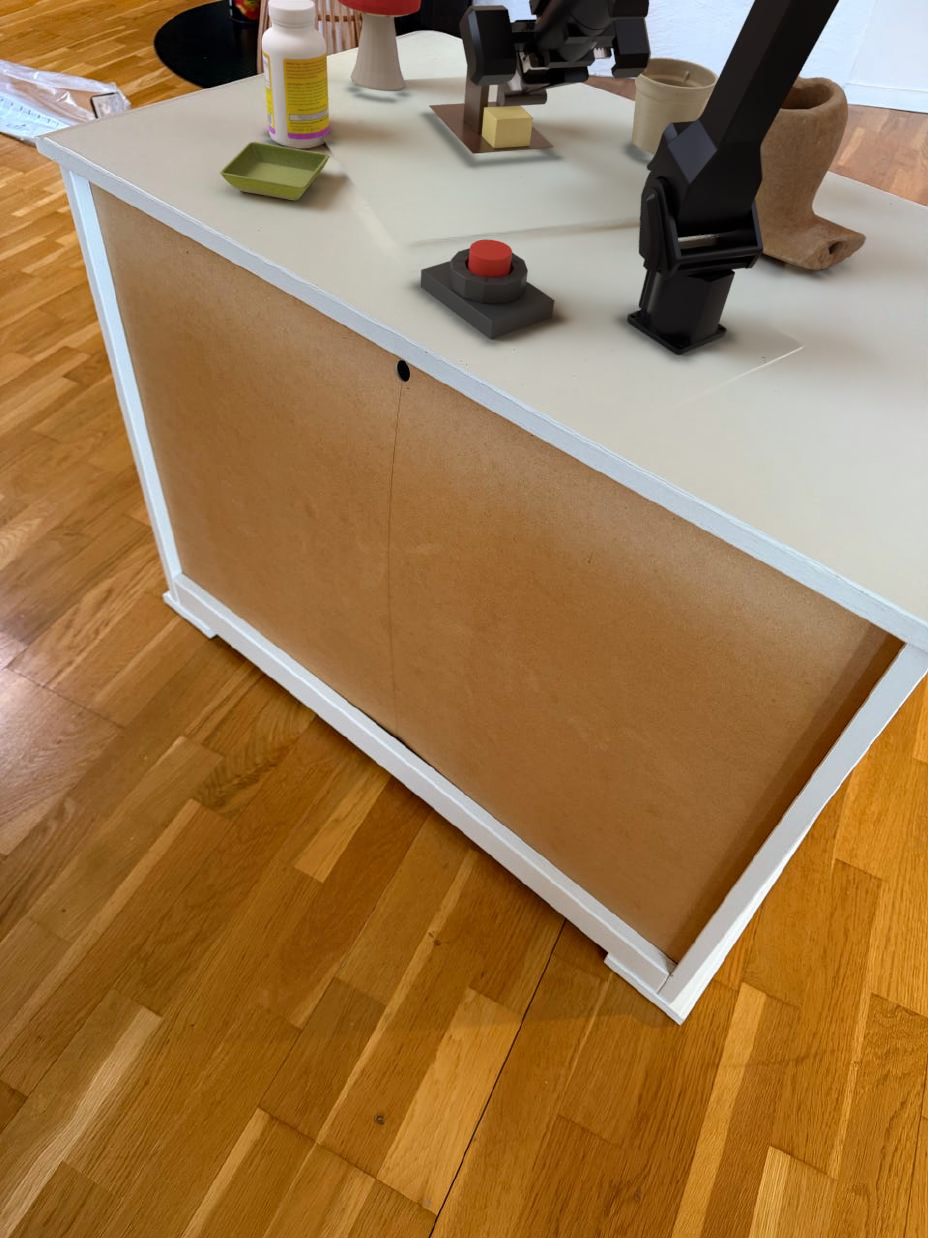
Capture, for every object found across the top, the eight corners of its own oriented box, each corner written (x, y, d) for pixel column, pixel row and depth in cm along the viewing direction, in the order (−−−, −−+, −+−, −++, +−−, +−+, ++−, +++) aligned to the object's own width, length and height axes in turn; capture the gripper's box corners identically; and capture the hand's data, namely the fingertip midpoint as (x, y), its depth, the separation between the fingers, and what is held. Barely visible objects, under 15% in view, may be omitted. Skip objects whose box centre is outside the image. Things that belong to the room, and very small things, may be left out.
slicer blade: (544, 111, 96) (550, 89, 93) (501, 113, 94) (506, 92, 92) (511, 50, 99) (516, 28, 97) (469, 51, 98) (474, 29, 96)
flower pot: (713, 163, 104) (736, 80, 97) (654, 176, 100) (674, 92, 93) (659, 133, 109) (678, 52, 102) (601, 145, 105) (616, 62, 98)
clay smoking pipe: (671, 234, 91) (714, 70, 79) (735, 204, 97) (783, 47, 85) (800, 296, 84) (866, 126, 73) (859, 260, 90) (929, 98, 79)
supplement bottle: (341, 138, 100) (339, 3, 90) (304, 155, 96) (297, 17, 86) (295, 121, 102) (287, -12, 92) (256, 138, 98) (244, 0, 88)
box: (551, 317, 78) (558, 280, 75) (490, 340, 75) (494, 301, 72) (480, 268, 83) (484, 231, 80) (420, 287, 80) (422, 249, 77)
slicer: (553, 157, 101) (569, 49, 93) (471, 164, 98) (481, 53, 90) (504, 110, 109) (515, 7, 101) (428, 115, 106) (432, 10, 98)
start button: (518, 272, 76) (520, 253, 75) (485, 283, 75) (487, 263, 73) (491, 255, 78) (494, 235, 77) (459, 264, 76) (461, 245, 75)
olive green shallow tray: (252, 160, 94) (250, 139, 93) (331, 174, 93) (330, 153, 92) (221, 194, 88) (218, 172, 87) (305, 209, 88) (303, 187, 86)
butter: (529, 145, 100) (533, 117, 97) (493, 148, 98) (496, 119, 96) (516, 133, 102) (520, 104, 100) (481, 135, 100) (483, 106, 98)
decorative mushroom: (428, 89, 112) (435, -57, 101) (400, 111, 106) (404, -41, 95) (356, 73, 114) (355, -73, 102) (325, 94, 108) (320, -58, 97)
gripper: (666, -100, 80) (588, 5, 95) (476, -103, 75) (424, 9, 90) (687, 29, 82) (607, 113, 97) (502, 35, 76) (447, 123, 91)
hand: (524, 87), depth 93 cm, fingers closed, pressing on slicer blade
